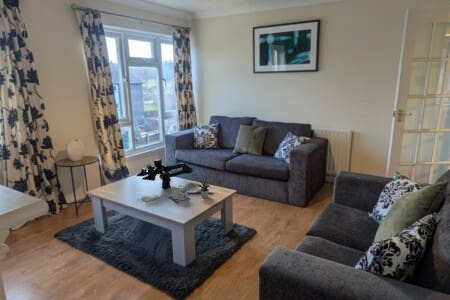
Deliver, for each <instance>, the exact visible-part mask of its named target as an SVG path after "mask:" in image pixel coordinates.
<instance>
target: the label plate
mask: <svg viewBox="0 0 450 300" xmlns="http://www.w3.org/2000/svg"><path fill="white" fill-rule="evenodd" d="M158 199H161V197H160V196H158V195H157V194H155V193H154V194H151V195H147V196H144V197H141V200H143V201H145V202H147V203H148V202H151V201H155V200H158Z"/></svg>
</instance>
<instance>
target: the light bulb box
mask: <svg viewBox="0 0 450 300" xmlns="http://www.w3.org/2000/svg"><path fill="white" fill-rule="evenodd" d="M187 191H188V187H187V185H186V184H178V183H175V184H173V185H171V196H172V197H171V198H172V199H175V200H177V201H178V200H179V201H185V200H186V199H187V197H188V192H187Z"/></svg>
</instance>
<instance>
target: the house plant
mask: <svg viewBox="0 0 450 300" xmlns="http://www.w3.org/2000/svg"><path fill="white" fill-rule="evenodd" d="M212 179H213V178H212V177H211V178H210V179H207V180H206V179H205V177H203V180H201V179H198V182H199V183H198V182H197V183H196V182H195V184H196V185H197V186H196V187H197V188H198V187H200V188H201V189H200V196H201V198H202V199H207V198H208V197H209V192H210V189H209V188H211V184H210V182H211V180H212Z"/></svg>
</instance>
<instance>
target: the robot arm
mask: <svg viewBox="0 0 450 300" xmlns="http://www.w3.org/2000/svg"><path fill="white" fill-rule="evenodd" d="M162 163H163V161H162V159H161V158H156V159H153V165H152V164H151V163H148V164H147V165H145V167H146V168H145V167H142V168H141V169H140V172H139V173H137V175H136V177H142V178H141V180H143V181H150V182H151V181H152V182H154V181H156V178H157V176H158V175H159V179H160V180H161V188H163V189H165V190H166V189H170V188H171V189H172V185H171V181H172V179H171V178H173V177H177V176H180V175H183V174H187V175H189V174H192V173H193V170H194V169H193V168H192V167H191V166H188V165H187V164H186V163H185V162H178V163H174V164H162ZM177 169H178V170H177ZM173 170H174V171H173Z"/></svg>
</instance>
